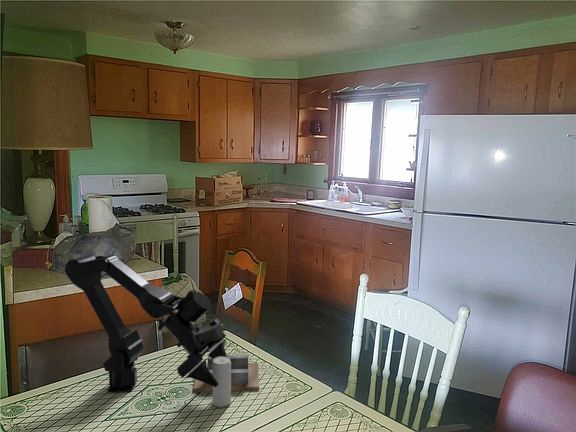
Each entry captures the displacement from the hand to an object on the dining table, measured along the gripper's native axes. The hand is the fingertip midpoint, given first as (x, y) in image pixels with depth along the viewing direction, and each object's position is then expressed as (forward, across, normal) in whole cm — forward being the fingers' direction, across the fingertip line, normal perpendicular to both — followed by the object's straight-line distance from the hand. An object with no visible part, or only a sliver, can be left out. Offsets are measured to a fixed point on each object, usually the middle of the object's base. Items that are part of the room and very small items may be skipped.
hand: (224, 377), depth 121 cm
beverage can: (+5, 0, +6) cm, 8 cm away
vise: (+2, +13, +8) cm, 15 cm away
